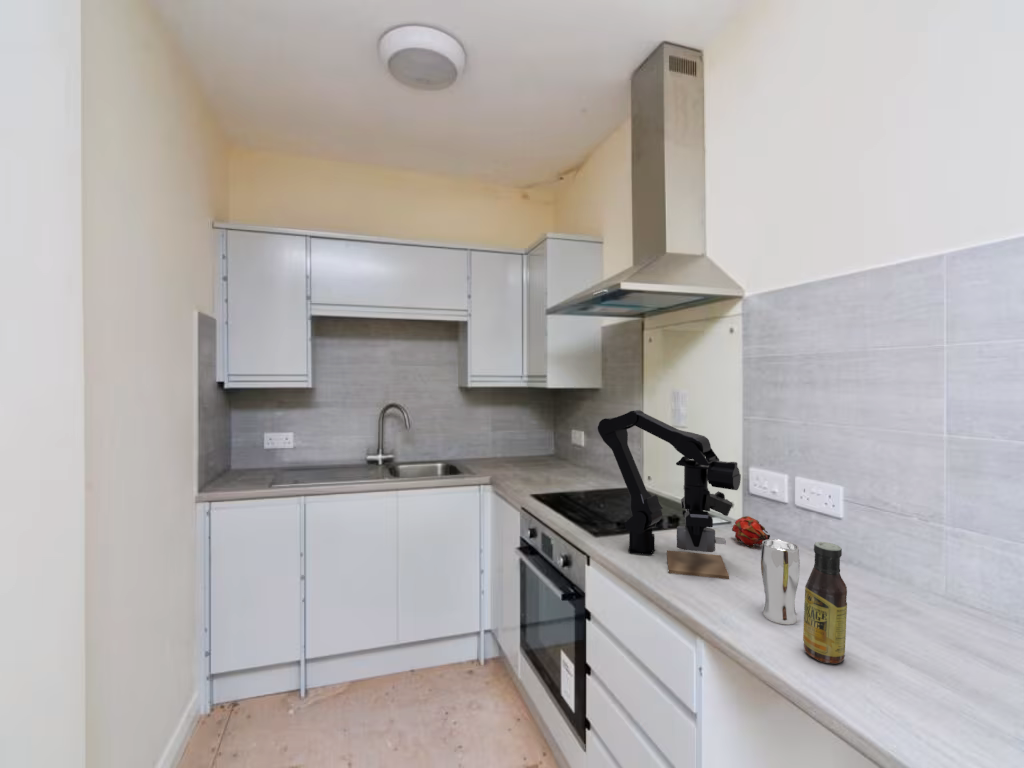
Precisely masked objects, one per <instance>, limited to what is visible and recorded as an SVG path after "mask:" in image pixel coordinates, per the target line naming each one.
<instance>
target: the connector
mask: <svg viewBox="0 0 1024 768" xmlns="http://www.w3.org/2000/svg"><path fill="white" fill-rule="evenodd" d="M726 541H727V540H726V538H725V537H718V536H717V537H716V530H715V529H714V528H712V527H706V528H704V530H703V533H702V536H701V540H700V544H699V547H694V545H693V542H692V539H691V537H690V534H689V532H688V529H687V527H686V525H678V526H676V549H677V548H678V549H679V550H683V551H689V552H700V553H702V552H703V553H713V552H715V551H716V544H718V545H726V544H727V542H726Z"/></svg>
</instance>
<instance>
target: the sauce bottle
mask: <svg viewBox="0 0 1024 768" xmlns="http://www.w3.org/2000/svg"><path fill="white" fill-rule="evenodd" d="M813 552H814V565H813V567H812V569H811V572H810V574H809V576H808V577H809V578H808V579H807V582H806V584H805V586H804V603H803V605H804V606H803V609H804V611H803V613H804V614H803V631H802V632H803V635H802V642H803V649H804V651H805V653H806V654H807V655H808V656H809V657H811V658H813V659H815V660H817V661H818V662H820V663H824V664H833V665H836V664H840V663H842V662H843V661H844V659H845V654H846V653H845V652H846V640H847V639H846V637H847V636H846V635H847V614H848V613H847V612H848V610H847V609H848V602H847V597H848V595H847V594H848V586H847V584H846V583H845V581H844V579H843V577H842V576H841V569H840V568H841V558H842V555H843V551H842V547H841V546H840V545H838V544H836V543H831V542H826V541H816V542H815V543H814V545H813Z"/></svg>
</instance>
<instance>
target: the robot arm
mask: <svg viewBox="0 0 1024 768" xmlns="http://www.w3.org/2000/svg"><path fill="white" fill-rule="evenodd" d="M633 427H637V428H639V429H641V430H642V431H645V432H646V433H649V434H651V435H653V436H655V437H657V439H658V438H659V439H661V440H663V441H664V442H667V443H669V444H670V445H671V446H673V447H672V448H674V449H675V450H676V451H677V452H678V453H680V454H681V455H682V457H681V458H680V460H678V461H677V462H676V463H675V465H676V466H680V467H683V470H684V471H683V473H684V474H683V479H684V480H683V481H684V482H683V484H684V485H683V492H684V493H683V497H682V498H681V499H680V507H681V509H683V510H682V511H681V512H682V515H683V519H684V523H685V524H684V525H685V526H686V527H687V529H688V532H689V534H690V537H691V539H692V542H693V545H694V547H699V544H700V540H701V536H702V533H703V530H704V528H706V527H707V528H713V526H714V524H713V523H714V519H713V516H712V515H711V514H710V513H709V512H711V510H712V511H715V512H717V513H719V514H722V515H723V516H725V517H728V516H729V515H730V511H731V509H732V507H733V503H732V502H731V501H730V500H729V499H727V498H726V497H725V495H726V494H725V493H723V492H721V491H719V490H718V491H717V492H715V493H711V491H710V490H709V487H708V485H711V487H712V488H718V489H719V488H720V489H726V490H732V491H738V489H739V488H740V485H741V479H742V478H741V476H742V475H741V473H740V469H739V467H738V462H737V461H723V460H722V461H721V460H720V458H719V456H718V455H717V454H716V453H715V452H714V450H713V449H712V446H711V445H712V444H711V442H710V439H708V437H707V436H705V435H702V434H699V433H694V432H690V431H686V430H682V429H679V428H676V427H674V426H671V425H669V424H667V423H666V422H663V421H662V420H659V419H657V418H655V417H653V416H651V415H649V414H647V413H645V412H643V411H642V410H640V409H637V410H630V411H628V412H626V413H624V414H622V415H618V416H615V417H614V416H613V417H606V418H602V419H601V420H600V421H599V423H598V425H597V431H598V434H599V435H600V437H601V439H602V441H603V442H604V444H606V446H607V447H608V448H609V449H611V451H612V453H613V456H614V460H615V461H616V463H617V466H618V468H619V471H620V474H621V477H622V478H623V481H624V483H625V486H626V489H627V491H628V494H629V497H630V505H629V506H630V509H629V510H630V512H631V516H630V518H628V519H627V520H626V521H625V522H624V527H625V531H627V532H628V533H629V535H628V537H629V538H628V539H629V541H628V542H629V544H628V553H629V554H634V555H635V554H636V555H646V556H648V555H649V556H654V551H655V549H656V548H655V547H656V546H655V543H656V542H655V540H656V539H655V538H656V537H655V533H653V528H655V527H656V525H657V523H658V522H660V521H661V519H662V517H663V511H662V510H663V508H664V507H662V505H661V503H660V502H659V501H660V500H659V497H658V495H657V494H655V495H654V494H653V495H651V494H650V492H648V490H647V489H646V486H645V483H644V481H643V478H642V477H641V474H640V472H639V469H638V466H637V464H636V462H635V459H634V457H633V454H632V452H631V449H630V447H629V443H628V441H629V440H628V439H629V432H628V430H629V429H631V428H633ZM684 509H685V510H684Z"/></svg>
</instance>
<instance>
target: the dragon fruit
mask: <svg viewBox="0 0 1024 768" xmlns="http://www.w3.org/2000/svg"><path fill="white" fill-rule="evenodd" d="M731 531H732V532H734V533H735V534H734V536H735V540H736V541H737V542H743V543H744V544H745V545H746V546H747V547H749V548H751V549H752V548H754V549H755V548H757V547H756V546H755V545H761V546H762V541H764V540H768V539H771V534H768V531H767V530H766V527H764V526H763V525H762V524H760V521H759V520H758V519H756V518H753V517H752V516H749V515H747V516H742V517H740V518H737V520H735V521H734V524H733V525H732V528H731Z"/></svg>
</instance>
